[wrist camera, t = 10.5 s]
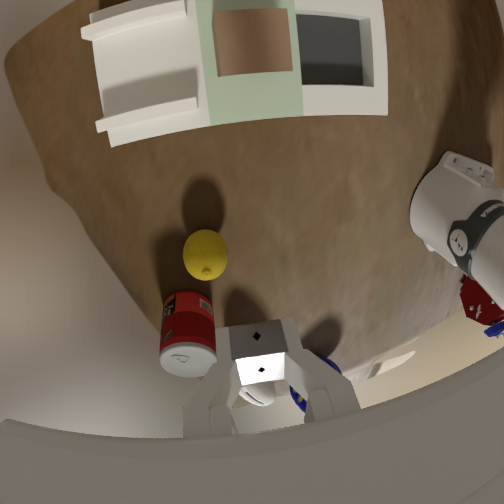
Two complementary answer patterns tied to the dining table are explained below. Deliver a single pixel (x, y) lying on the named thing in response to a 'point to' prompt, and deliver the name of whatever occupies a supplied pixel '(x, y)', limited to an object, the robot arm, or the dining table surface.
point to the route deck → (234, 86)
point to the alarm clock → (482, 307)
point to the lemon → (205, 254)
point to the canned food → (187, 334)
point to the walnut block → (251, 41)
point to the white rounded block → (259, 393)
